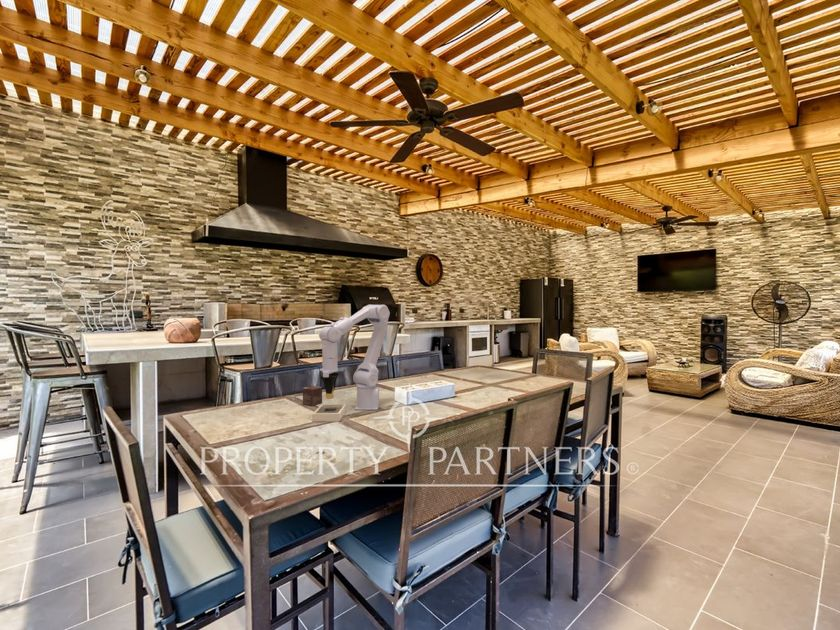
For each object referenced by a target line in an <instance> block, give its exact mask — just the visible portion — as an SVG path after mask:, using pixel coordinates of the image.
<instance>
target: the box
mask: <svg viewBox="0 0 840 630" xmlns="http://www.w3.org/2000/svg"><path fill="white" fill-rule="evenodd" d="M321 404H323V387H322V386H318V385H317V386H316V385H310V386H306V387H302V405H304V406H311V407H315V406H317V405H321Z"/></svg>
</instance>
